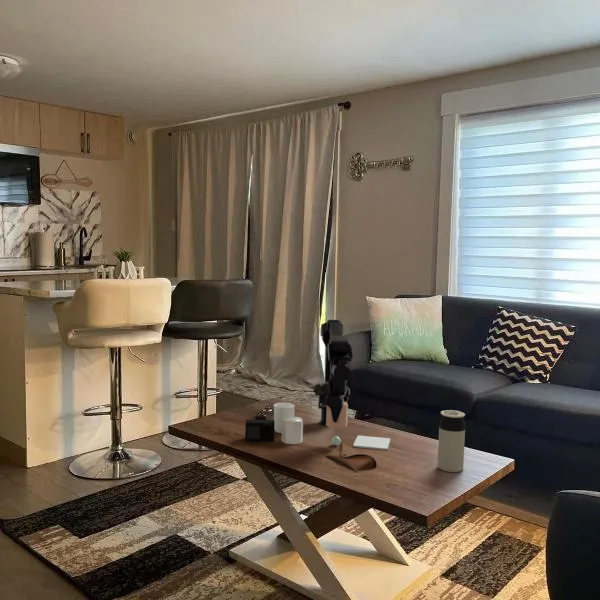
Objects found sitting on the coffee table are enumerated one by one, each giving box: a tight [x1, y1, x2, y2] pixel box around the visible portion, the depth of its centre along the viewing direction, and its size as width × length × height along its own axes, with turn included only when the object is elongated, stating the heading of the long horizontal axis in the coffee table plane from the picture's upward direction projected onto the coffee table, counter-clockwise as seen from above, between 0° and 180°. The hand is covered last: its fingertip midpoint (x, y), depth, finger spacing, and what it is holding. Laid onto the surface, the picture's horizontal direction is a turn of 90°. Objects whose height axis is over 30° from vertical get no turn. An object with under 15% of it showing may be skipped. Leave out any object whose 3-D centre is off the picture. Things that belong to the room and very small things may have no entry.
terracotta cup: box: [325, 401, 349, 429], centre depth 213 cm, size 7×7×8 cm
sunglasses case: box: [324, 442, 378, 473], centre depth 198 cm, size 18×7×7 cm
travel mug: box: [437, 409, 466, 473], centre depth 193 cm, size 8×8×18 cm
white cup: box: [273, 402, 296, 434], centre depth 229 cm, size 8×8×10 cm
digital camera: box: [244, 419, 275, 443], centre depth 218 cm, size 10×5×7 cm, turn 94°
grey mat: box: [352, 435, 391, 451], centre depth 217 cm, size 12×12×1 cm
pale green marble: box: [331, 435, 342, 447], centre depth 214 cm, size 3×3×3 cm
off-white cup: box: [281, 416, 304, 445], centre depth 217 cm, size 7×7×8 cm
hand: (336, 419), depth 213 cm, fingers closed on terracotta cup, 7 cm apart
